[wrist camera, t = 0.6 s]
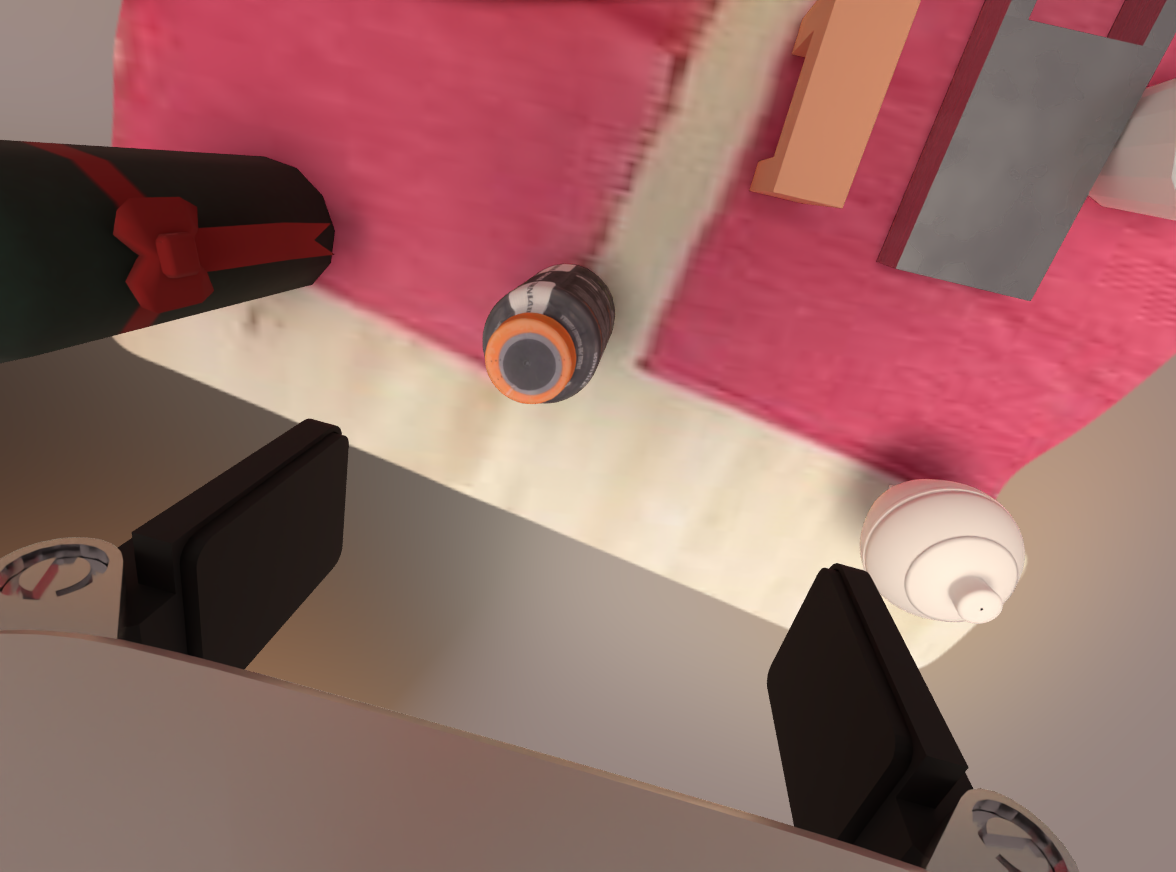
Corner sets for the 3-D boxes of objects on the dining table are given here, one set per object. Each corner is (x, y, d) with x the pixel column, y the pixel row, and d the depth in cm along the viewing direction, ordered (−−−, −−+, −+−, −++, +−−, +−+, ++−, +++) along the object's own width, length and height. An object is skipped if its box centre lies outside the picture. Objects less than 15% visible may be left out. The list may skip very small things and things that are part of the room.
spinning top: (982, 479, 36) (1116, 604, 26) (887, 556, 39) (971, 696, 29) (894, 409, 35) (994, 508, 25) (803, 493, 38) (857, 614, 28)
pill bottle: (527, 254, 35) (467, 282, 24) (624, 272, 34) (604, 309, 24) (516, 349, 37) (457, 411, 27) (606, 367, 37) (582, 437, 26)
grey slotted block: (1105, -289, 23) (1163, -353, 20) (1279, -252, 23) (1361, -312, 20) (876, 261, 32) (895, 268, 30) (999, 291, 32) (1030, 301, 29)
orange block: (802, 18, 28) (848, -39, 21) (862, 32, 28) (929, -21, 21) (749, 190, 32) (773, 191, 24) (802, 203, 32) (842, 208, 24)
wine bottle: (375, 297, 37) (-456, 611, 10) (228, 285, 38) (-907, 538, 11) (363, 162, 34) (-932, 57, 6) (203, 152, 35) (-1514, 26, 7)
